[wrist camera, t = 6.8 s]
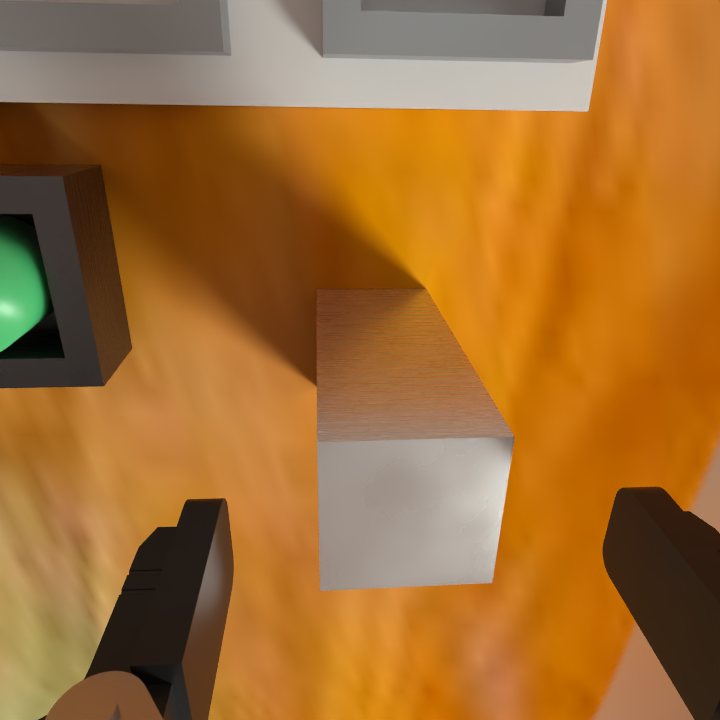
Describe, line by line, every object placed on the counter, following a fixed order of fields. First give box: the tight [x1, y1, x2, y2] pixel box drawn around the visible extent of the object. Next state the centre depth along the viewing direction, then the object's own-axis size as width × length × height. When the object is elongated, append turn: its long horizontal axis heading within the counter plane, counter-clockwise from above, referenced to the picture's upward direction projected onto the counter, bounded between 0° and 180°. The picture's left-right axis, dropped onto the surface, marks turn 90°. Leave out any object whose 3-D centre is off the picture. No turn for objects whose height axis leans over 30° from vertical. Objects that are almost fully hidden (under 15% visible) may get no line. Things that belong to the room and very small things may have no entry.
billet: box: [316, 289, 514, 591], centre depth 17 cm, size 4×4×10 cm
